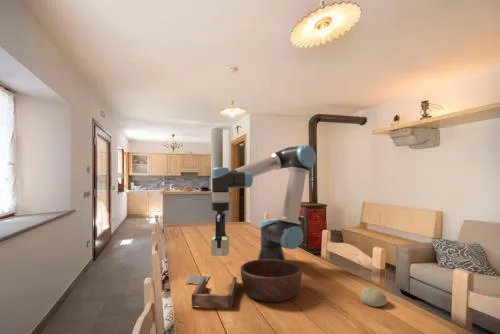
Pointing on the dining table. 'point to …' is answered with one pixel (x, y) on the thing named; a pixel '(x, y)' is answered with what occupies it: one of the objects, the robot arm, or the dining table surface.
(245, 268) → the wooden bowl
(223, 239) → the sage block
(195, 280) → the slate mat
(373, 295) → the sea urchin shell
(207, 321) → the dining table surface
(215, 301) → the walnut cubby
